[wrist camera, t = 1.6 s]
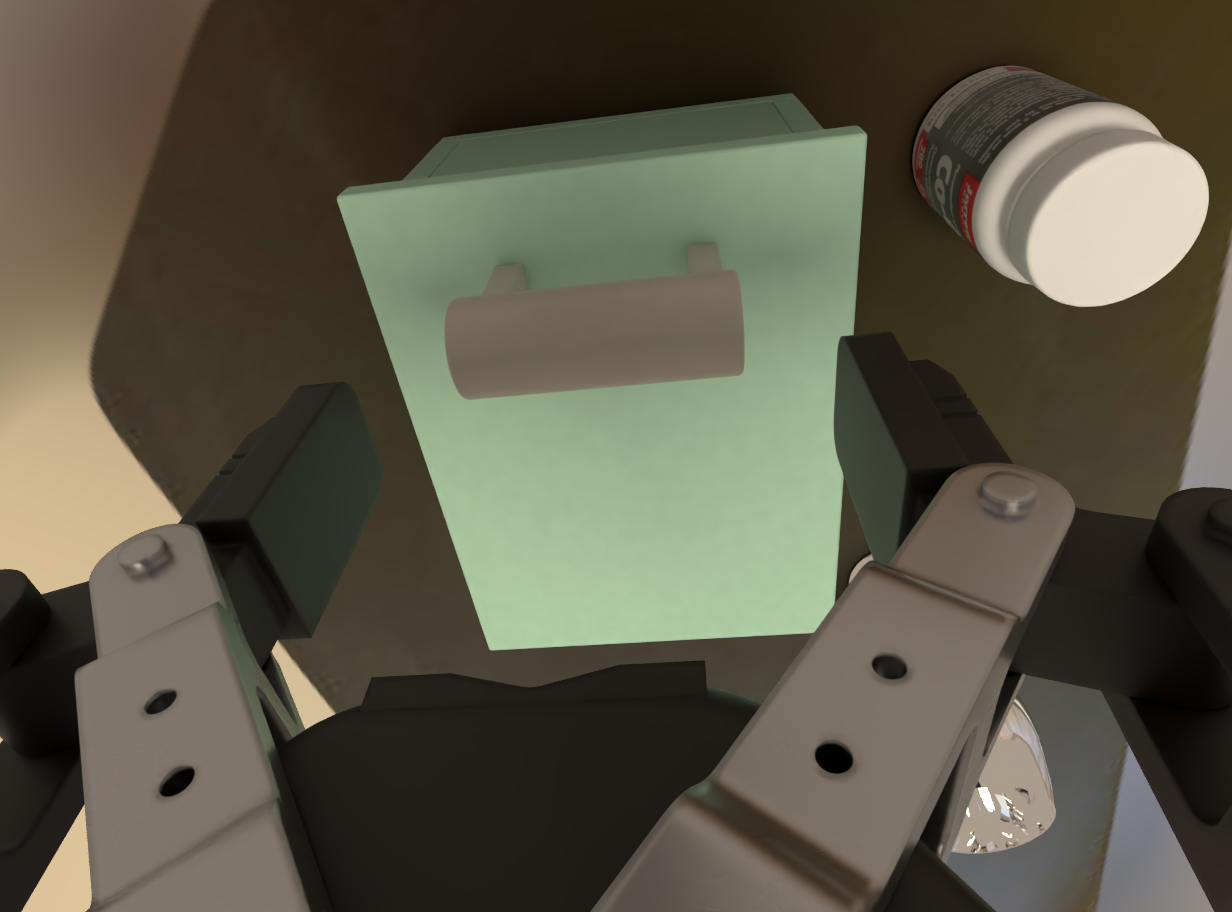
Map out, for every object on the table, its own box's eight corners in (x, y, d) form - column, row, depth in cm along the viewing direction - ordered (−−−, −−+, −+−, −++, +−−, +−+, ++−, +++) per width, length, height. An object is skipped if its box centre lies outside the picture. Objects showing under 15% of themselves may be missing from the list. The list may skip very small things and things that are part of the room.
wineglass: (974, 589, 36) (1094, 834, 27) (865, 633, 38) (939, 874, 29) (928, 515, 34) (1042, 757, 24) (813, 566, 36) (875, 807, 26)
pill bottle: (881, 140, 24) (971, 225, 18) (1019, 27, 22) (1180, 73, 16) (954, 243, 26) (1061, 356, 20) (1086, 147, 24) (1256, 236, 18)
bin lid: (345, 186, 17) (244, 275, 13) (859, 123, 16) (937, 199, 12) (492, 633, 26) (462, 773, 22) (828, 614, 25) (866, 759, 21)
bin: (442, 136, 25) (359, 224, 18) (793, 92, 24) (856, 166, 16) (526, 479, 33) (493, 632, 26) (788, 459, 32) (828, 613, 25)
